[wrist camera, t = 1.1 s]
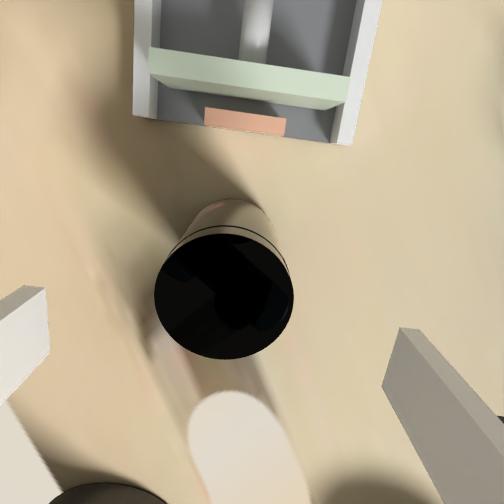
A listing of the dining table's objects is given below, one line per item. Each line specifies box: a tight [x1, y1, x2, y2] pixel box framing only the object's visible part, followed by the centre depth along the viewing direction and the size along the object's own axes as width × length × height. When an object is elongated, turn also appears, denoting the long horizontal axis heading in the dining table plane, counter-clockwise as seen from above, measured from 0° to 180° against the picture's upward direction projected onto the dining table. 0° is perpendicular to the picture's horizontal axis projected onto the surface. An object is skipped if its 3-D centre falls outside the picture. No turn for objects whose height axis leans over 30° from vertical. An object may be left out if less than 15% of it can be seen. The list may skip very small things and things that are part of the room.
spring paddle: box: [148, 0, 351, 110], centre depth 19 cm, size 5×10×5 cm, turn 83°
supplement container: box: [154, 199, 294, 360], centre depth 21 cm, size 7×7×10 cm
